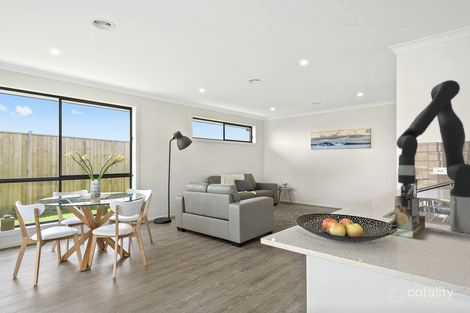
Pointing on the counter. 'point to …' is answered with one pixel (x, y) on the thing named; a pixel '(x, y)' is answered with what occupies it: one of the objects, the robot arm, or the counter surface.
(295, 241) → the counter surface
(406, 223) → the coffee box
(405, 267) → the counter surface
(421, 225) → the rack bay
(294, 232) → the counter surface
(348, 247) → the counter surface
